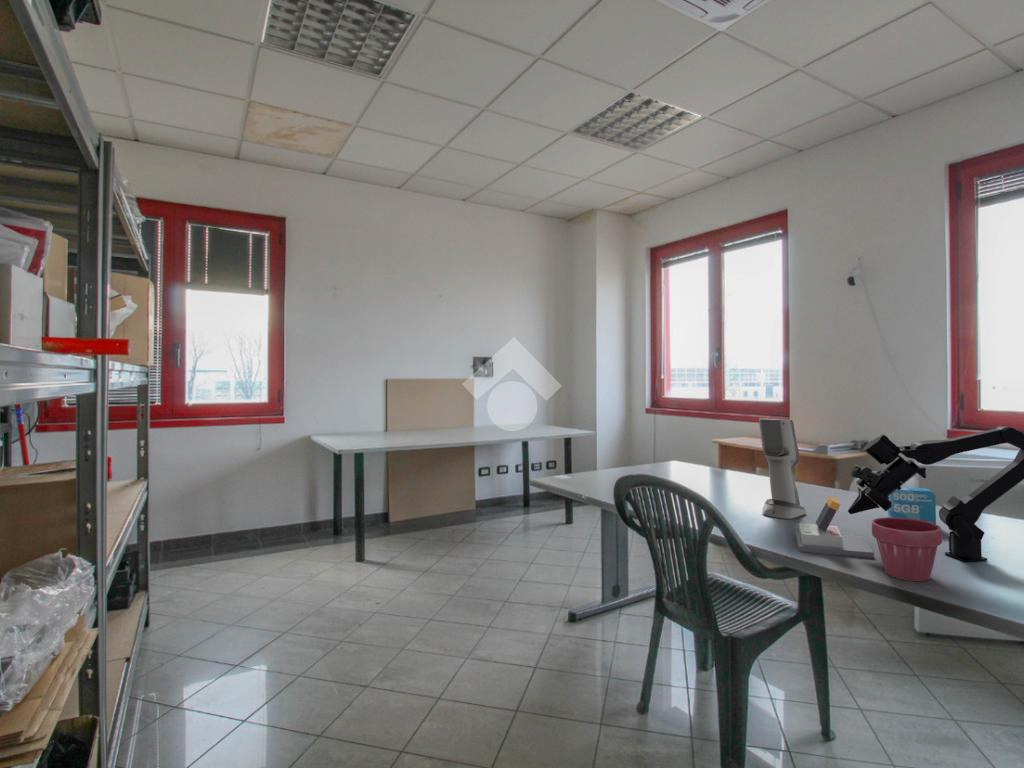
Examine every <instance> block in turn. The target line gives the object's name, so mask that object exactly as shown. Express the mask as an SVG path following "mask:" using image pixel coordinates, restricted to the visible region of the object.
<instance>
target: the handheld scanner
mask: <svg viewBox="0 0 1024 768" xmlns="http://www.w3.org/2000/svg"><path fill="white" fill-rule="evenodd" d="M758 424H759V431H760V440H761V442H760V443H761V447H762V451H763V454H764V456H765V459H766V461H767V464H768V473H769V485H770V486H769V487H770V495H771V498H767V500H765V502H764V504H763V507H762V512H761V514H762V515H763V516H765V515H766V516H765V517H770V518H775V519H780V520H793V519H797V518H799V517H802V516H804V515H806V514H807V512H806V508H804V506H801V502H800V497H799V492H798V488H797V484H796V482H795V481H796V480H795V478H794V477H795V476H794V473H793V467H794V466H795V465H797V464H798V463H799V461H800V453H799V447H798V442H797V437H796V430H795V425H794V420H792V419H786V418H765V417H764V418H763V417H759V419H758Z"/></svg>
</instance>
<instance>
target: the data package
mask: <svg viewBox="0 0 1024 768" xmlns="http://www.w3.org/2000/svg"><path fill="white" fill-rule="evenodd" d="M901 488H902V489H900V490H898V489H897V490H896V491H894V492H893V493H892V494H891V495H889V496H888V497H889V500H890V501H891V503H892V507H891V508H890V509H888V510H887V518H889V517H893V518H909V519H917V520H922V521H927V522H931V523H934V524H936V525H937V513H936V512H937V510H936V508H937V507H936V502H937V501H936V495H935V493H934V492H933V491H932V490H930V489H928V488H919V487H902V486H901Z"/></svg>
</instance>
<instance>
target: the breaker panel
mask: <svg viewBox="0 0 1024 768" xmlns="http://www.w3.org/2000/svg"><path fill="white" fill-rule="evenodd" d="M798 524H799V527H798V528H799V529H798V530H795V531H794V532H795V540H796V544H797V547H798V552H799V553H800V552H803V553H813V554H822V555H823V554H825V555H833V556H834V555H835V556H846V557H857V558H868V559H875V553H874V551H873V549H872V548H871V546H870V545H869V543H868V542H867V540H866V538H865V536H863V535H851V534H849V535H848V534H841V532H840V530H839V527H838V526H837V525H829V526H828V528H827V530H826V532H825V531H823V530H821V529H819V528H818V526H817V524H813V523H798Z"/></svg>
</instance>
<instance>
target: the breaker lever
mask: <svg viewBox="0 0 1024 768" xmlns="http://www.w3.org/2000/svg"><path fill="white" fill-rule="evenodd" d="M840 507H841V504H840V501H839V500H838V498H837V497H836V498H835V497H834V496H831V495H828V497H827V499H826V502H825V503H824V506H823V508H822V510H821V512H820V513H819V516H818V517H817V519H816V521H815V523H816V524H815V525H817V526H818V528H819V529H821V530H823V531H825V532H826V530H827V528H828V526H830V524H831V522H832V521H833V518H834V517H835V515H836V513H837V511H838V510H839V508H840Z"/></svg>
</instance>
